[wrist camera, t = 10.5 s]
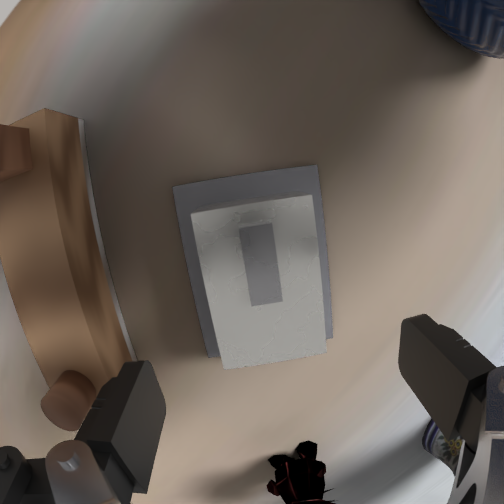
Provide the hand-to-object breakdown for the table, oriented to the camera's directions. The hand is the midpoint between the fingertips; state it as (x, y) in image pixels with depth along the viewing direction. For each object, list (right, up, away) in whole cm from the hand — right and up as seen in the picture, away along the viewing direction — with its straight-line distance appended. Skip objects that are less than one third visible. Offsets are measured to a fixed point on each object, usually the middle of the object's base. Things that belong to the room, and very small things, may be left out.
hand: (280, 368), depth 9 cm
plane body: (-14, +3, +11) cm, 18 cm away
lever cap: (0, +3, +11) cm, 11 cm away
